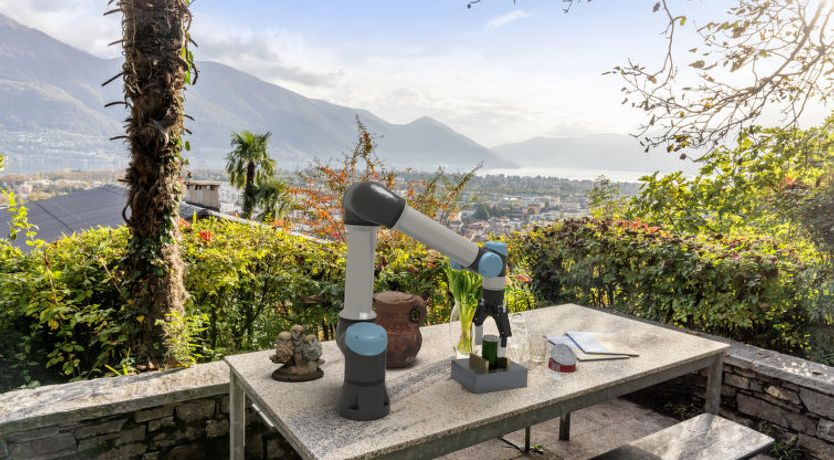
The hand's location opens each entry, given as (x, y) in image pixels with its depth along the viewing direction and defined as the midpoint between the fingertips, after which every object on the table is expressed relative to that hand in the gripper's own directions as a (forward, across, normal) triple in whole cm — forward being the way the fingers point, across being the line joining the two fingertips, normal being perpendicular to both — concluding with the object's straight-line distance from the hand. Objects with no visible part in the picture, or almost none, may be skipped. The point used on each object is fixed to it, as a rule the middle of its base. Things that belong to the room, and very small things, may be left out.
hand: (489, 350), depth 166 cm
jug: (+11, +29, +23) cm, 38 cm away
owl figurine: (+12, +25, +59) cm, 65 cm away
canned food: (+11, +3, -35) cm, 37 cm away
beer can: (+7, 0, 0) cm, 7 cm away
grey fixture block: (+11, +1, -2) cm, 11 cm away
